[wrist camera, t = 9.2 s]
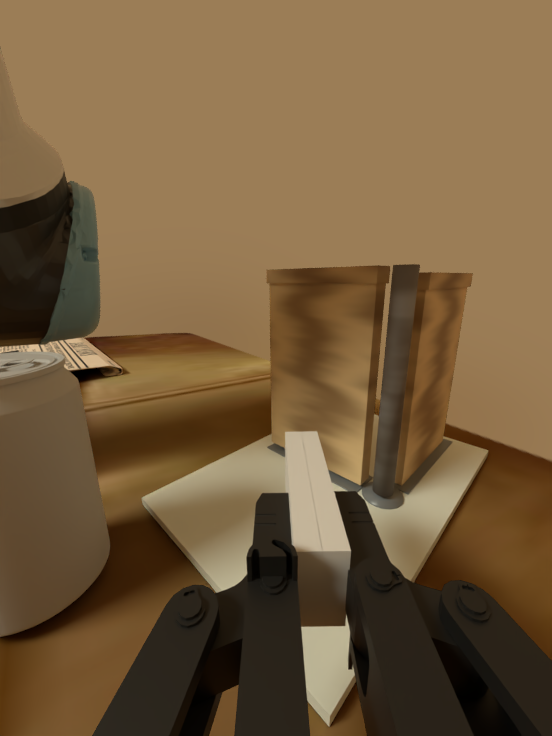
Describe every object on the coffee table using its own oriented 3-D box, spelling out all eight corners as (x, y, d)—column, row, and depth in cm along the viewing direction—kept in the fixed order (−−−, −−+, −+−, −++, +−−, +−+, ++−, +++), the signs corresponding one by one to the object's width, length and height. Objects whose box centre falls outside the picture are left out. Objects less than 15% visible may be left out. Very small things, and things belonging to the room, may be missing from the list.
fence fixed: (403, 488, 22) (431, 272, 18) (382, 479, 23) (404, 273, 19) (445, 442, 28) (472, 273, 24) (427, 436, 30) (450, 273, 25)
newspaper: (-6, 355, 69) (-9, 343, 68) (92, 343, 80) (90, 333, 80) (-17, 403, 41) (-22, 384, 41) (134, 375, 53) (132, 359, 53)
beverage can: (6, 546, 18) (-57, 352, 15) (122, 523, 20) (89, 344, 17) (-79, 672, 12) (-212, 399, 9) (96, 625, 14) (38, 379, 11)
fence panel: (397, 489, 22) (424, 264, 17) (387, 500, 20) (413, 264, 16) (281, 435, 29) (280, 270, 25) (269, 442, 28) (266, 269, 24)
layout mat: (142, 504, 22) (141, 496, 22) (335, 406, 38) (336, 401, 38) (329, 726, 11) (330, 714, 11) (487, 456, 27) (488, 449, 27)
